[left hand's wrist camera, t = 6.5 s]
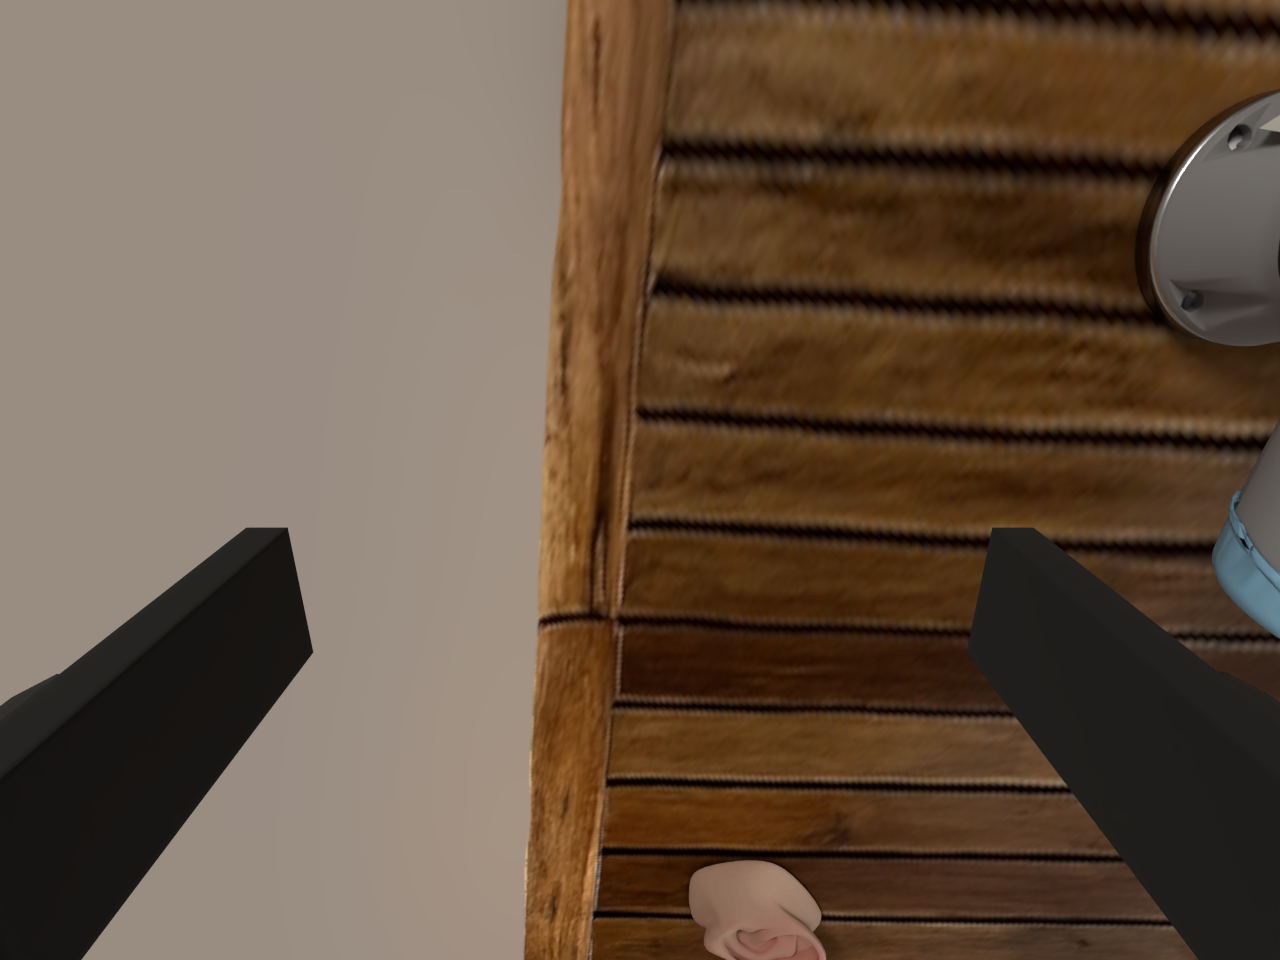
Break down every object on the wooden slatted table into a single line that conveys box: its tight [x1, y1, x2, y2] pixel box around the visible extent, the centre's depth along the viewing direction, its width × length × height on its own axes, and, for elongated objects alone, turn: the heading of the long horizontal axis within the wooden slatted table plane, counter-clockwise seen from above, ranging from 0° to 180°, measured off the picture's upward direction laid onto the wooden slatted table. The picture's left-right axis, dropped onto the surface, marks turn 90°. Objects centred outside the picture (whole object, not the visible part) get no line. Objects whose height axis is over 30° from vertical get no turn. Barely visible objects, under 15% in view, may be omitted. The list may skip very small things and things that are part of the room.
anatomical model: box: [689, 860, 826, 960], centre depth 64 cm, size 13×4×12 cm
